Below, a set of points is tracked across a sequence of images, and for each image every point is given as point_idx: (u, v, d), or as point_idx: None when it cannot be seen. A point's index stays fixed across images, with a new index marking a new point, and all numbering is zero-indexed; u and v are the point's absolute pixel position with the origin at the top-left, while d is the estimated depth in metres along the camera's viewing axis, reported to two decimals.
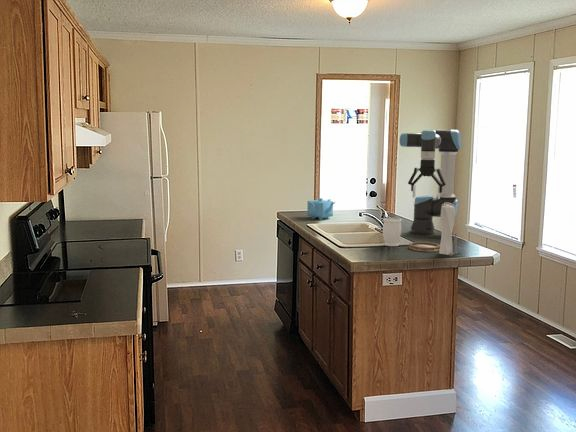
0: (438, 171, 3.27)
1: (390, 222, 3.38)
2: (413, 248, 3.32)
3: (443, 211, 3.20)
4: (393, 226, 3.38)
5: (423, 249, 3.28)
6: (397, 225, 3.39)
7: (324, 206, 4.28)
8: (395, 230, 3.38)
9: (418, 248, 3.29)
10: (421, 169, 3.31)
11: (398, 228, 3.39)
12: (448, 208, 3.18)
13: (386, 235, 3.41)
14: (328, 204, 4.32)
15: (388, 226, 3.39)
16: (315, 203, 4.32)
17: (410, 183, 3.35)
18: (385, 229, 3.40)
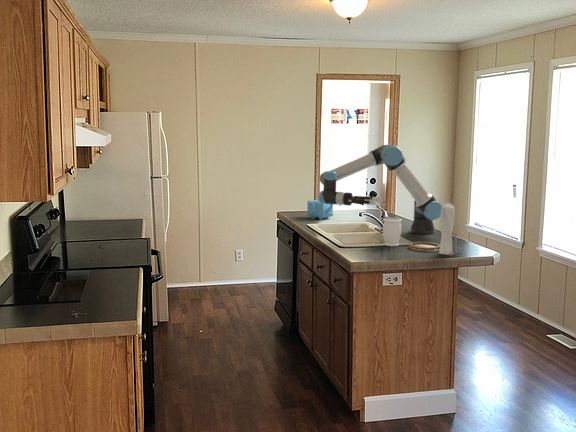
0: (350, 202, 3.51)
1: (390, 222, 3.38)
2: (413, 248, 3.32)
3: (443, 211, 3.20)
4: (393, 226, 3.38)
5: (423, 249, 3.28)
6: (397, 225, 3.39)
7: (324, 206, 4.28)
8: (395, 230, 3.38)
9: (418, 248, 3.29)
10: None
11: (398, 228, 3.39)
12: (448, 208, 3.18)
13: (386, 235, 3.41)
14: (328, 204, 4.32)
15: (388, 226, 3.39)
16: (315, 203, 4.32)
17: (371, 199, 3.61)
18: (385, 229, 3.40)
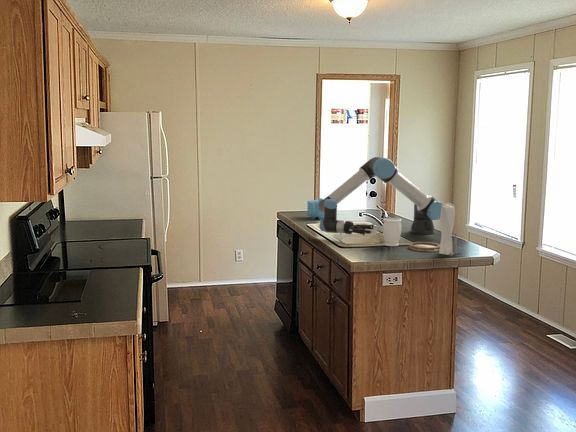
0: (351, 231, 3.48)
1: (390, 222, 3.38)
2: (413, 248, 3.32)
3: (443, 211, 3.20)
4: (393, 226, 3.38)
5: (423, 249, 3.28)
6: (397, 225, 3.39)
7: None
8: (395, 230, 3.38)
9: (418, 248, 3.29)
10: None
11: (398, 228, 3.39)
12: (448, 208, 3.18)
13: (386, 235, 3.41)
14: None
15: (388, 226, 3.39)
16: (315, 203, 4.32)
17: None
18: (385, 229, 3.40)
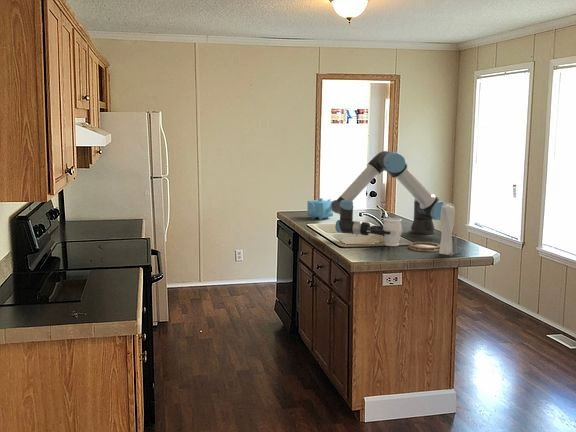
0: None
1: (390, 222, 3.38)
2: (413, 248, 3.32)
3: (443, 211, 3.20)
4: (393, 226, 3.38)
5: (423, 249, 3.28)
6: (397, 225, 3.39)
7: (324, 206, 4.28)
8: (395, 230, 3.38)
9: (418, 248, 3.29)
10: None
11: (398, 228, 3.39)
12: (448, 208, 3.18)
13: (386, 235, 3.41)
14: (328, 204, 4.32)
15: (388, 226, 3.39)
16: (315, 203, 4.32)
17: None
18: (385, 229, 3.40)
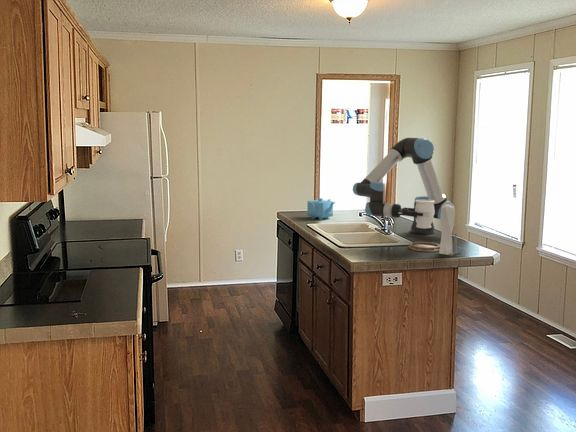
0: None
1: (423, 203, 3.28)
2: (413, 248, 3.32)
3: (443, 211, 3.20)
4: (426, 207, 3.28)
5: (423, 249, 3.28)
6: (430, 206, 3.29)
7: (324, 206, 4.28)
8: (428, 211, 3.28)
9: (418, 248, 3.29)
10: None
11: (431, 209, 3.29)
12: (448, 208, 3.18)
13: (419, 217, 3.31)
14: (328, 204, 4.32)
15: (421, 208, 3.29)
16: (315, 203, 4.32)
17: None
18: None
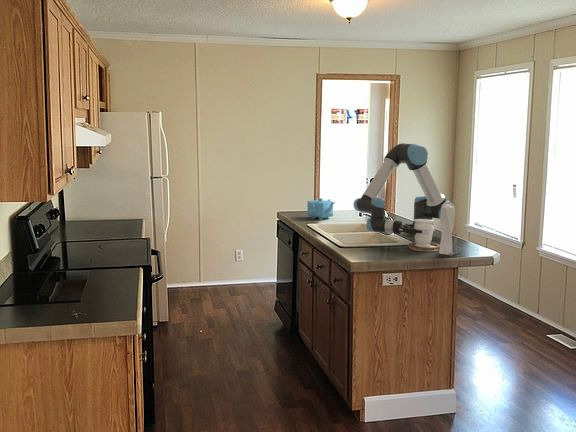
0: (401, 231, 3.35)
1: (422, 222, 3.29)
2: (413, 248, 3.32)
3: (443, 211, 3.20)
4: (425, 227, 3.29)
5: (423, 249, 3.28)
6: (429, 225, 3.30)
7: (324, 206, 4.28)
8: None
9: (418, 248, 3.29)
10: None
11: (430, 229, 3.30)
12: (448, 208, 3.18)
13: (418, 236, 3.31)
14: (328, 204, 4.32)
15: (420, 227, 3.30)
16: (315, 203, 4.32)
17: None
18: None
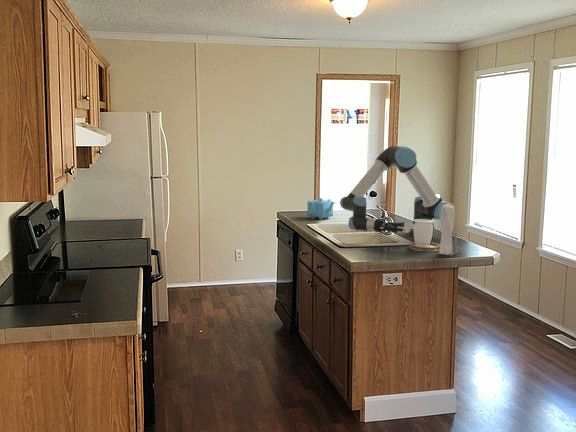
0: (382, 229, 3.39)
1: (421, 223, 3.29)
2: (413, 248, 3.32)
3: (443, 211, 3.20)
4: (424, 227, 3.29)
5: (423, 249, 3.28)
6: (428, 226, 3.29)
7: (324, 206, 4.28)
8: (426, 231, 3.29)
9: (418, 248, 3.29)
10: None
11: (429, 230, 3.29)
12: (448, 208, 3.18)
13: (416, 236, 3.31)
14: (328, 204, 4.32)
15: (419, 228, 3.30)
16: (315, 203, 4.32)
17: None
18: (416, 230, 3.31)
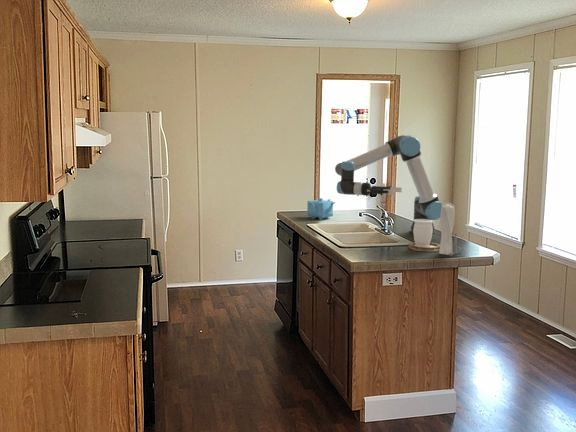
0: (369, 192, 3.48)
1: (421, 223, 3.29)
2: (413, 248, 3.32)
3: (443, 211, 3.20)
4: (424, 227, 3.29)
5: (423, 249, 3.28)
6: (428, 226, 3.29)
7: (324, 206, 4.28)
8: (426, 231, 3.29)
9: (418, 248, 3.29)
10: None
11: (429, 229, 3.29)
12: (448, 208, 3.18)
13: (416, 236, 3.31)
14: (328, 204, 4.32)
15: (418, 228, 3.30)
16: (315, 203, 4.32)
17: (389, 190, 3.59)
18: (415, 230, 3.31)
